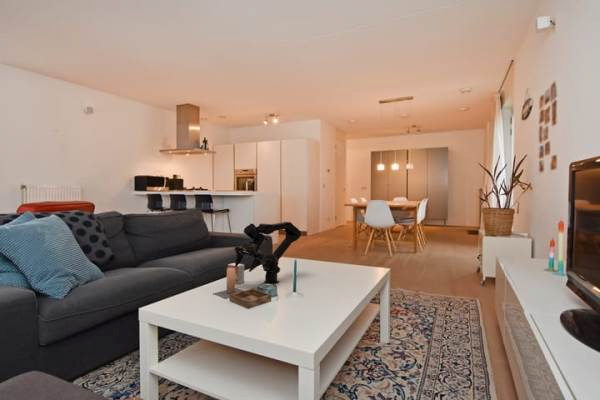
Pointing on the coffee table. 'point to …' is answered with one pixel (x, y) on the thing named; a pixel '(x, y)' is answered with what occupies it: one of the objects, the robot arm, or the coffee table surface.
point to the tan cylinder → (230, 280)
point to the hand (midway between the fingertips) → (242, 268)
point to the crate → (250, 298)
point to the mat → (224, 293)
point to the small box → (238, 272)
